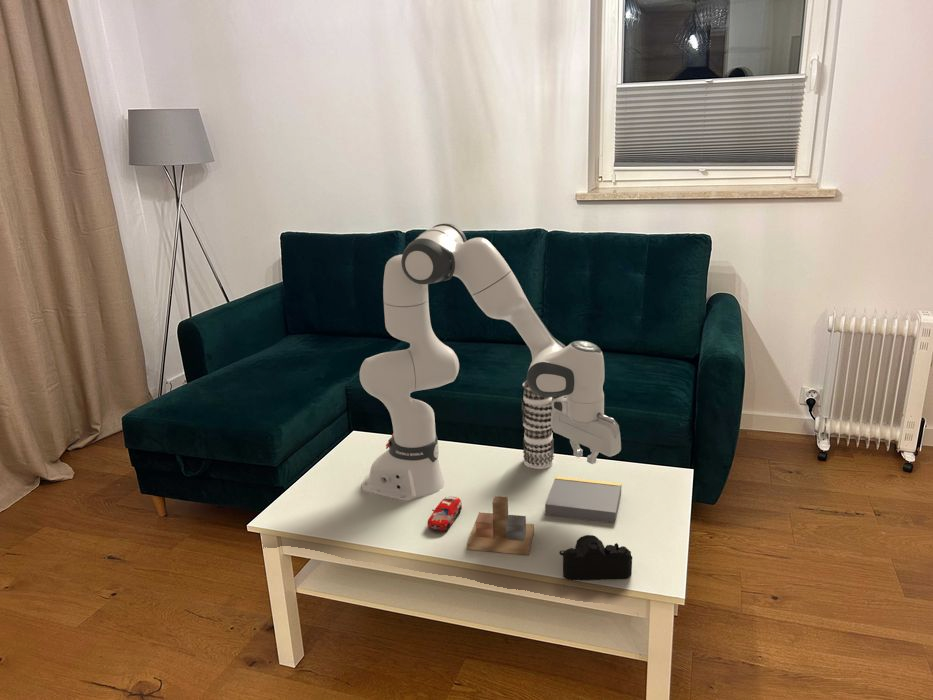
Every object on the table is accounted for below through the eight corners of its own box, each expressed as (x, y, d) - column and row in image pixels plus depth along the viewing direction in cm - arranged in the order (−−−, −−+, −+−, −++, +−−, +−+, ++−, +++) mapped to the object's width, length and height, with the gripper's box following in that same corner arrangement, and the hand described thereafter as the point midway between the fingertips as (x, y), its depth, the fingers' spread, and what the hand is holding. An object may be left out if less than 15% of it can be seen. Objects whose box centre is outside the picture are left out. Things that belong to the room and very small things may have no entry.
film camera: (625, 557, 160) (626, 522, 157) (633, 585, 151) (635, 548, 148) (556, 558, 161) (556, 524, 158) (561, 586, 152) (561, 550, 149)
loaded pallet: (467, 552, 165) (465, 509, 161) (476, 528, 174) (474, 486, 170) (528, 558, 161) (527, 514, 158) (534, 533, 171) (533, 490, 167)
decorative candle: (551, 471, 198) (550, 387, 190) (518, 467, 201) (516, 384, 193) (558, 456, 206) (558, 374, 198) (526, 452, 209) (525, 372, 201)
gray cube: (506, 539, 165) (505, 524, 163) (509, 529, 168) (508, 514, 167) (523, 540, 164) (523, 525, 162) (526, 531, 167) (525, 516, 166)
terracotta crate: (476, 536, 166) (475, 521, 165) (479, 527, 170) (479, 512, 168) (493, 538, 165) (492, 523, 164) (496, 528, 169) (495, 513, 168)
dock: (545, 514, 178) (545, 503, 177) (555, 486, 190) (555, 475, 189) (615, 523, 173) (615, 512, 172) (621, 493, 185) (621, 483, 184)
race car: (445, 535, 170) (444, 520, 169) (424, 531, 172) (423, 516, 171) (465, 508, 182) (465, 494, 181) (445, 504, 184) (445, 490, 182)
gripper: (627, 416, 167) (626, 470, 171) (564, 392, 182) (564, 442, 187) (609, 424, 163) (608, 479, 168) (546, 399, 179) (547, 449, 183)
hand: (584, 459), depth 177 cm, fingers open, 3 cm apart
